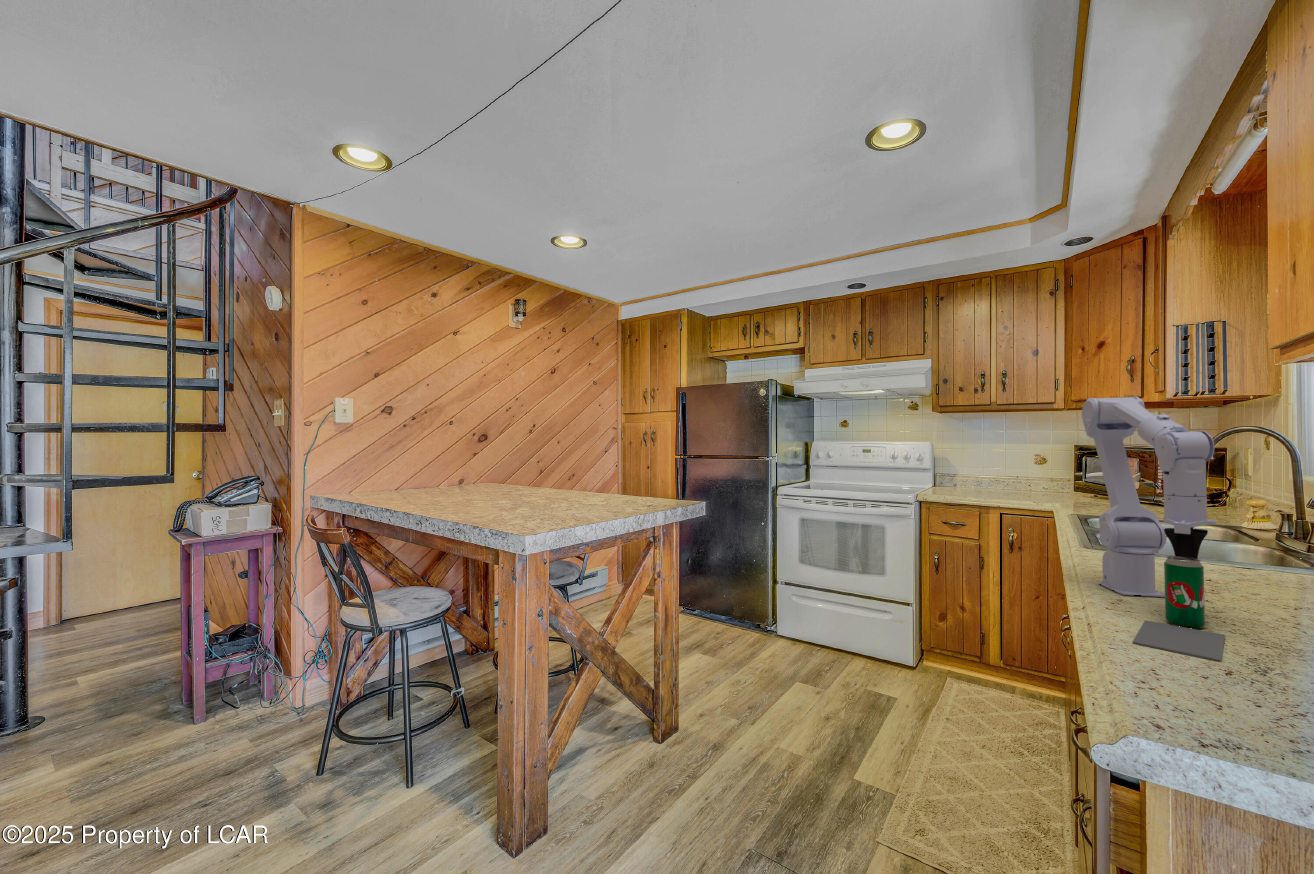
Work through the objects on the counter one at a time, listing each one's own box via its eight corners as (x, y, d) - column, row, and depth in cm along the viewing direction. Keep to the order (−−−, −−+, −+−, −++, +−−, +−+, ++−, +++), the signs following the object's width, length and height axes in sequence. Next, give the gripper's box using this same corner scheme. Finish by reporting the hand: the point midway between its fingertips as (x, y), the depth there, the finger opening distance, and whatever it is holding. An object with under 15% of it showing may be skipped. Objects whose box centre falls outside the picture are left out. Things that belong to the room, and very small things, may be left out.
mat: (1145, 621, 96) (1145, 620, 96) (1225, 636, 89) (1225, 634, 89) (1132, 643, 86) (1132, 641, 86) (1221, 661, 79) (1221, 660, 79)
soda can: (1187, 620, 97) (1185, 555, 97) (1213, 630, 92) (1212, 561, 92) (1157, 619, 97) (1156, 555, 97) (1182, 629, 92) (1180, 561, 92)
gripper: (1213, 500, 91) (1216, 578, 90) (1217, 493, 100) (1219, 564, 100) (1157, 497, 96) (1159, 571, 96) (1166, 491, 105) (1168, 558, 105)
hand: (1186, 567), depth 98 cm, fingers closed
